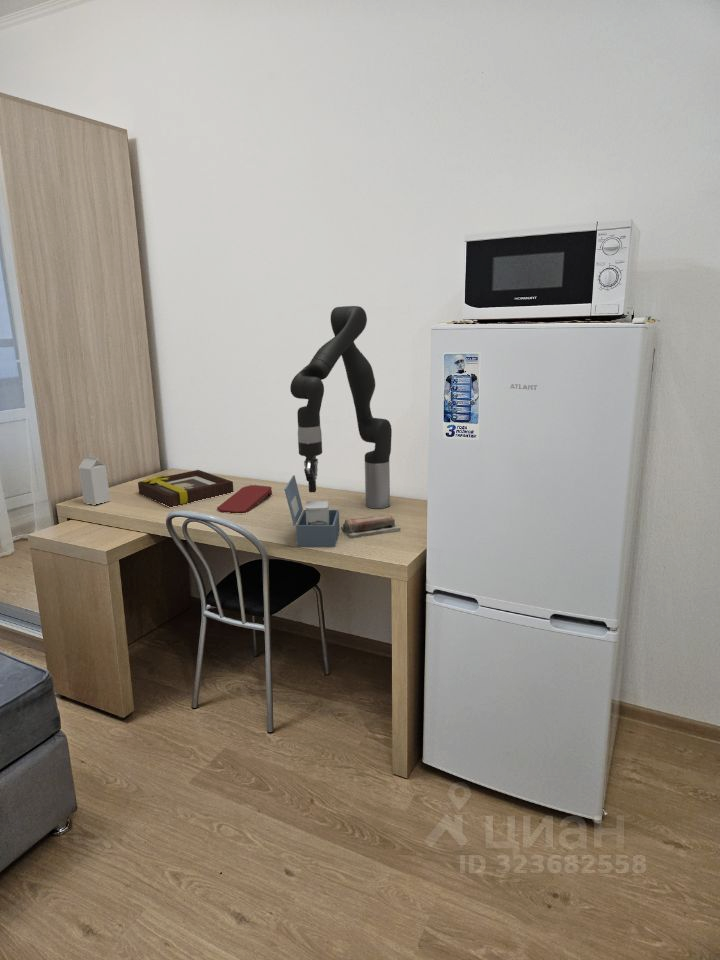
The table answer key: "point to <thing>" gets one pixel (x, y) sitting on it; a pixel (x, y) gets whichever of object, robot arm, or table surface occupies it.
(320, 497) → the table surface
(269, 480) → the table surface
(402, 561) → the table surface
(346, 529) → the packaged product
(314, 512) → the supplement box
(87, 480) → the milk carton
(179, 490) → the brown gift box
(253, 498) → the red wedge
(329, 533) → the open blue-gray box
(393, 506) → the table surface
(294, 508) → the lid
